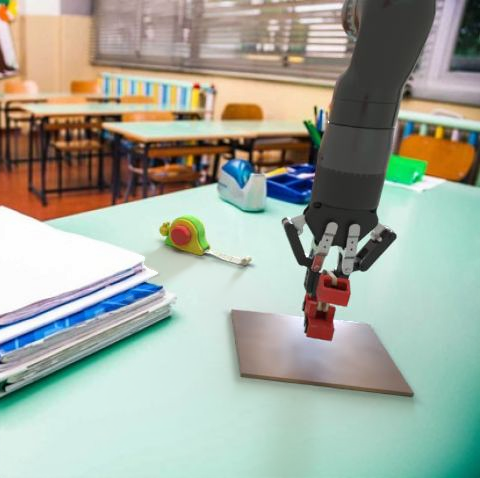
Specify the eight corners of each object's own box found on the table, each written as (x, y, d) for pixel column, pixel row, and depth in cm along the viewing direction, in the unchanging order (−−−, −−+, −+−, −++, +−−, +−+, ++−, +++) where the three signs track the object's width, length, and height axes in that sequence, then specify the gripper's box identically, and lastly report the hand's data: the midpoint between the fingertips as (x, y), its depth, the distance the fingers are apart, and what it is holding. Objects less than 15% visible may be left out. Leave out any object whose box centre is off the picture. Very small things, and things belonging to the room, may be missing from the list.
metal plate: (368, 326, 73) (369, 323, 72) (413, 396, 58) (414, 393, 58) (231, 311, 75) (231, 309, 75) (240, 376, 60) (241, 373, 60)
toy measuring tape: (167, 235, 104) (169, 206, 102) (255, 260, 94) (260, 228, 92) (151, 244, 99) (153, 213, 97) (242, 271, 89) (247, 237, 87)
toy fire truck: (325, 308, 71) (339, 246, 67) (334, 361, 59) (352, 289, 55) (301, 304, 72) (314, 242, 68) (305, 355, 59) (321, 284, 56)
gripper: (296, 166, 54) (272, 304, 61) (429, 176, 53) (389, 316, 59) (284, 153, 61) (263, 278, 68) (401, 161, 60) (368, 288, 66)
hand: (322, 295), depth 63 cm, fingers closed on toy fire truck, 2 cm apart
